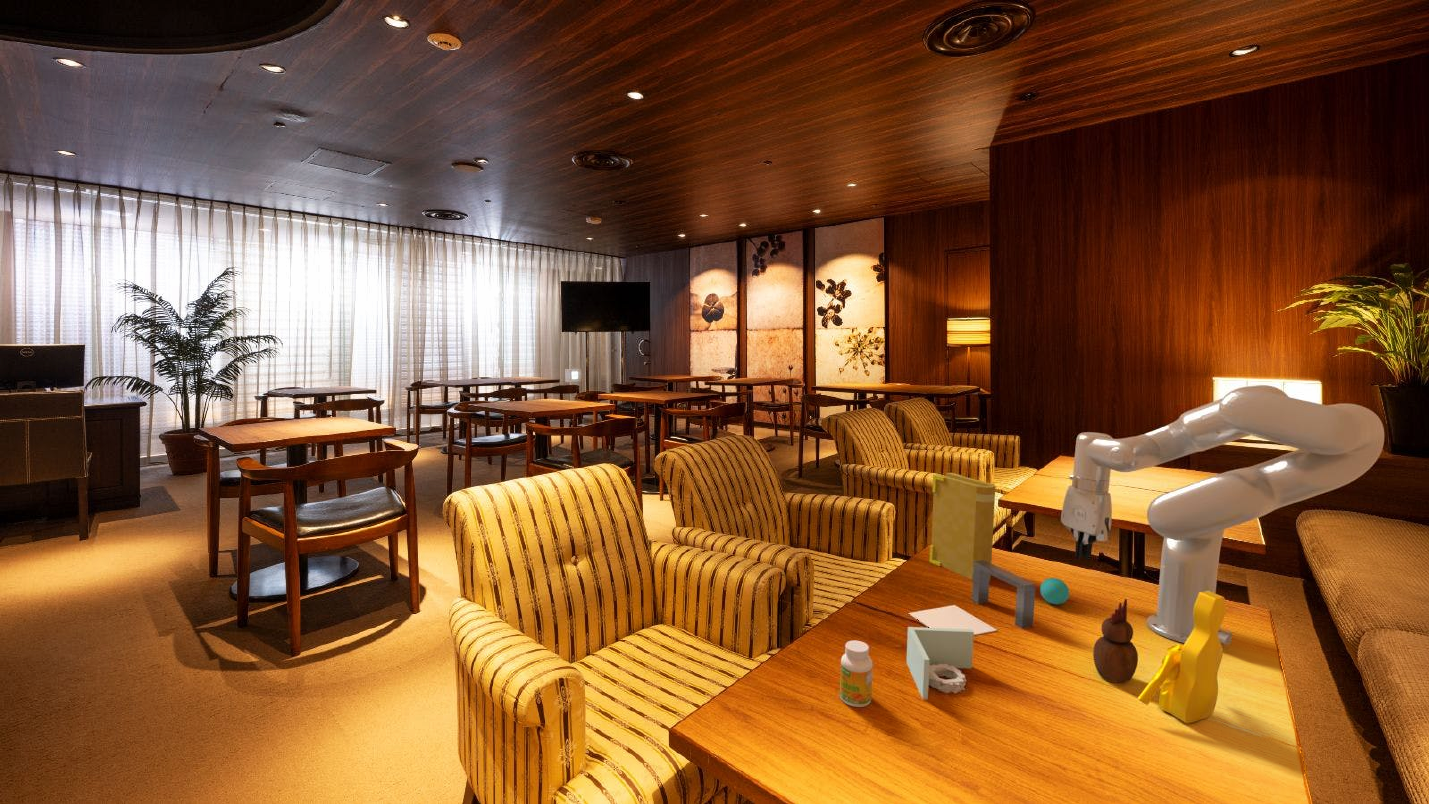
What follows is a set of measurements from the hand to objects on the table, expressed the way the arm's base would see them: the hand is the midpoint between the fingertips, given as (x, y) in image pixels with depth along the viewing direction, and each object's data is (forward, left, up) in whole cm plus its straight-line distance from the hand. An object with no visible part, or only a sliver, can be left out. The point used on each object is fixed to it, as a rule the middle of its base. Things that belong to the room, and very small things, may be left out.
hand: (1082, 557), depth 147 cm
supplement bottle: (-19, +75, -10) cm, 78 cm away
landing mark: (-1, +39, -10) cm, 41 cm away
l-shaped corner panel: (-20, +56, -10) cm, 61 cm away
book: (+23, +15, -10) cm, 30 cm away
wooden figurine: (-29, +26, -10) cm, 40 cm away
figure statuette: (-41, +25, -10) cm, 49 cm away
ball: (-1, +9, -7) cm, 12 cm away
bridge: (-1, +25, -10) cm, 27 cm away
